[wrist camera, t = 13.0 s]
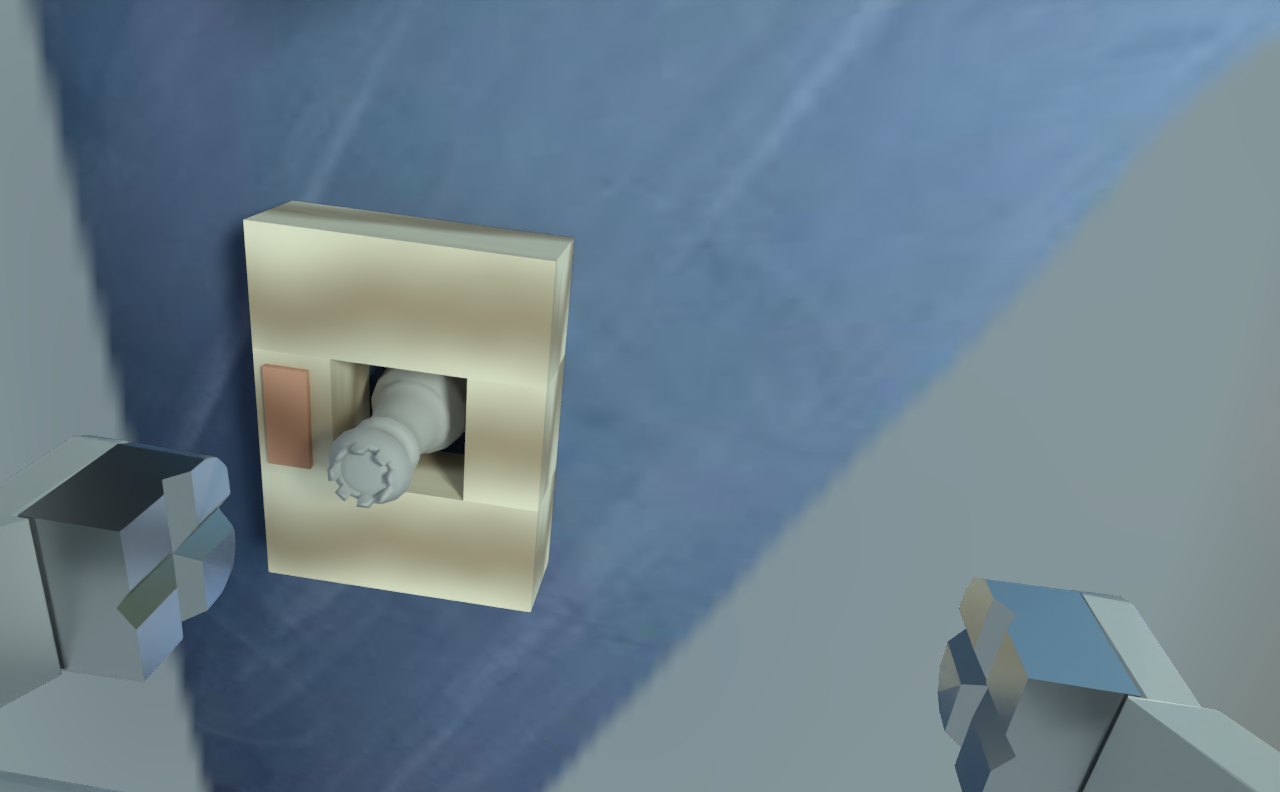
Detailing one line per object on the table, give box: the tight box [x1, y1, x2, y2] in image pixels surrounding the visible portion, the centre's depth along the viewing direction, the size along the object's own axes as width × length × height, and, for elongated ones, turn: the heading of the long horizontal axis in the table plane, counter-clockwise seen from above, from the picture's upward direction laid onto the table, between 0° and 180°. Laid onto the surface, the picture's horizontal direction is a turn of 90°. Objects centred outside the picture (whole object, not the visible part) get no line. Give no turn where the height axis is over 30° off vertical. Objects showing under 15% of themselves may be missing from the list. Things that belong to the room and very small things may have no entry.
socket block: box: [243, 201, 574, 612], centre depth 37 cm, size 16×12×4 cm
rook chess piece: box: [327, 367, 467, 508], centre depth 36 cm, size 4×4×8 cm
